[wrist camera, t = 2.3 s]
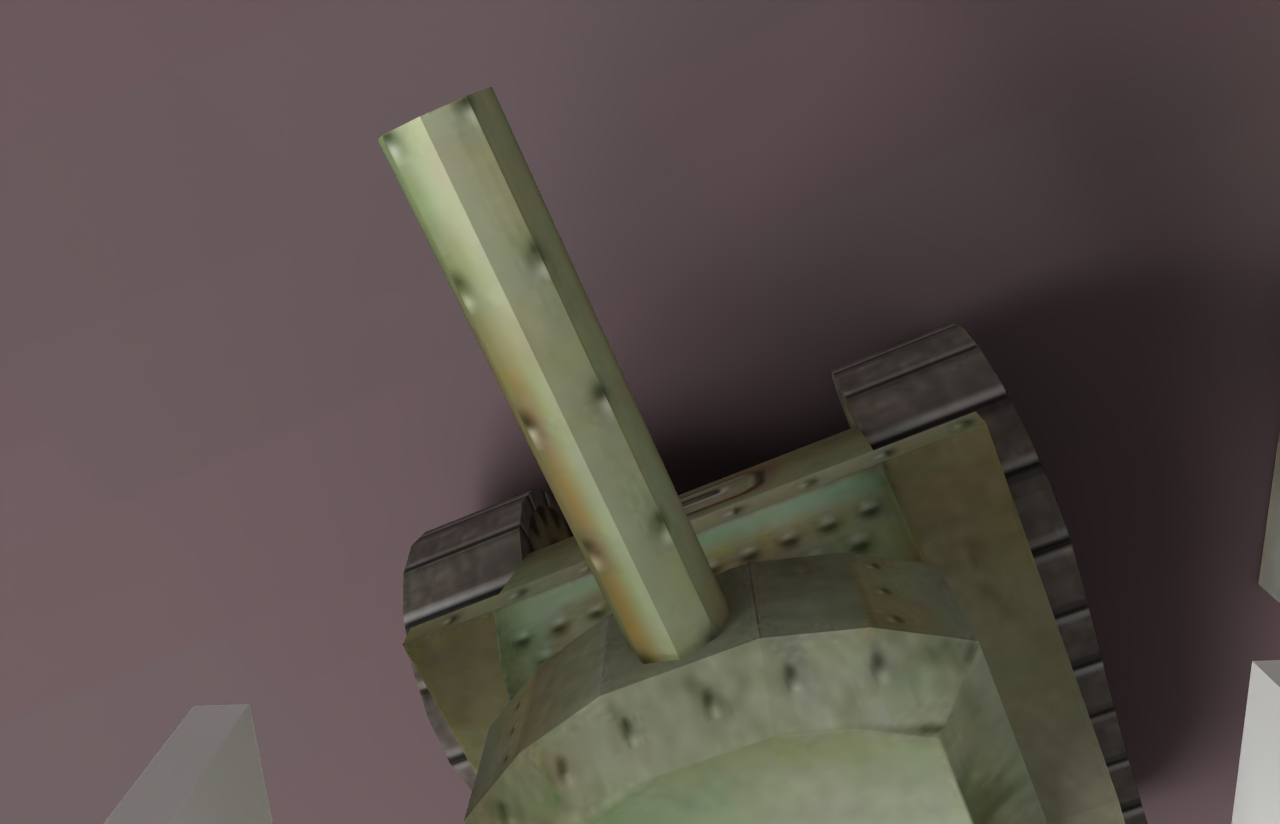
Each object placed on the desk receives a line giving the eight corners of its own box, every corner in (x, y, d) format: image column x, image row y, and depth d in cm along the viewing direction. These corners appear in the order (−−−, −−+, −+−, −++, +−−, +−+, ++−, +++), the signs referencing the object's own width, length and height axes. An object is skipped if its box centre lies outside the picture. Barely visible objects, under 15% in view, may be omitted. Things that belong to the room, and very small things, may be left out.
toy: (808, -31, 18) (973, -147, 8) (1106, 807, 23) (1420, 1340, 13) (295, 205, 19) (-79, 344, 10) (684, 941, 24) (693, 1507, 15)
